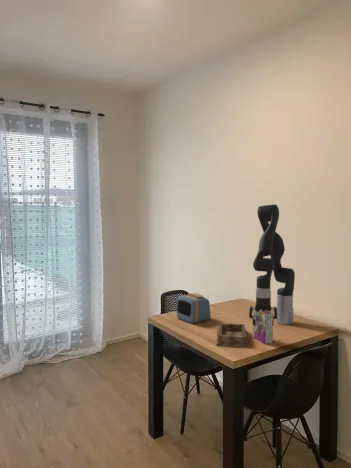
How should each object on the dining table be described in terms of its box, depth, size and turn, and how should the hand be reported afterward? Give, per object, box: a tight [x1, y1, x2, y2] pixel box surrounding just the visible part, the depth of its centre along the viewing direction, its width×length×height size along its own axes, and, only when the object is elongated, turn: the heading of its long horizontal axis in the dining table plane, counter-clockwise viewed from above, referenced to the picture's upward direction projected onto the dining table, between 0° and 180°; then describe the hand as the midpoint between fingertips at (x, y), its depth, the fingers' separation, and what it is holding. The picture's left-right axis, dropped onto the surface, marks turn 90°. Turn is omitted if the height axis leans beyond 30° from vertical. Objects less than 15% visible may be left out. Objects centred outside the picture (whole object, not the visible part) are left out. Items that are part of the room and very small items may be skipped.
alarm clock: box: [176, 292, 212, 324], centre depth 243 cm, size 16×16×16 cm
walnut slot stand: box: [216, 322, 249, 348], centre depth 210 cm, size 16×24×4 cm, turn 173°
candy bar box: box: [253, 309, 274, 345], centre depth 205 cm, size 11×5×16 cm, turn 22°
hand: (262, 326), depth 205 cm, fingers open, 8 cm apart
